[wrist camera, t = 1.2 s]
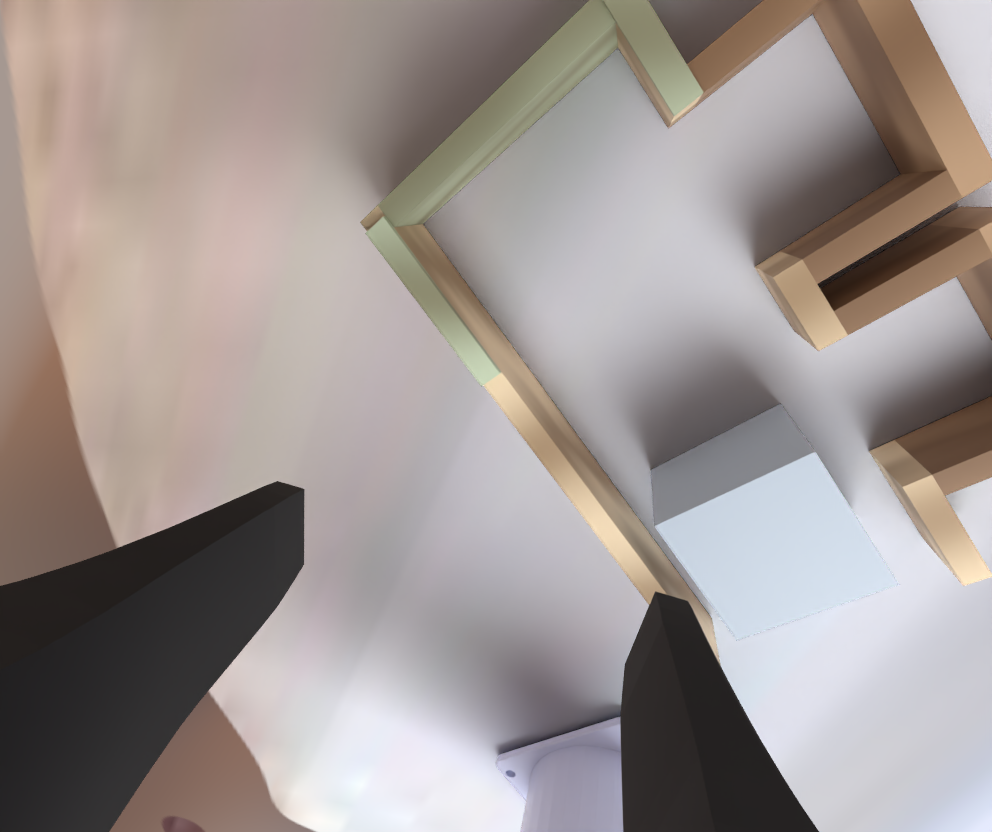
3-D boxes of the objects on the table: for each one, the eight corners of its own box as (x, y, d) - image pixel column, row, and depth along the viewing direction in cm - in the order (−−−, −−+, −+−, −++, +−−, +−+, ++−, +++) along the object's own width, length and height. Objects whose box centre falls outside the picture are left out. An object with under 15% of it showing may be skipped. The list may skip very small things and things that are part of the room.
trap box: (1102, 473, 17) (1181, 520, 14) (693, 625, 22) (701, 677, 20) (775, -139, 13) (806, -215, 11) (392, 219, 19) (357, 222, 17)
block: (849, 512, 19) (899, 584, 16) (718, 565, 21) (736, 640, 18) (779, 402, 18) (815, 451, 15) (650, 468, 20) (654, 526, 17)
